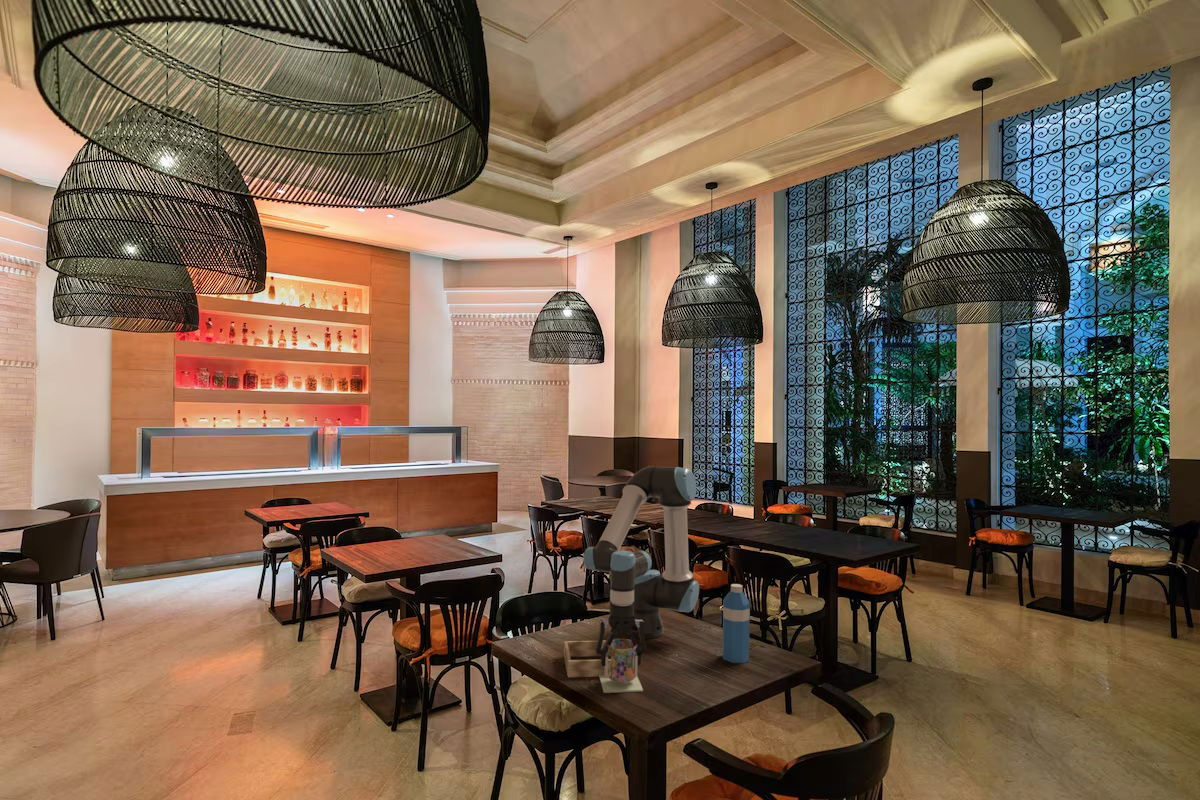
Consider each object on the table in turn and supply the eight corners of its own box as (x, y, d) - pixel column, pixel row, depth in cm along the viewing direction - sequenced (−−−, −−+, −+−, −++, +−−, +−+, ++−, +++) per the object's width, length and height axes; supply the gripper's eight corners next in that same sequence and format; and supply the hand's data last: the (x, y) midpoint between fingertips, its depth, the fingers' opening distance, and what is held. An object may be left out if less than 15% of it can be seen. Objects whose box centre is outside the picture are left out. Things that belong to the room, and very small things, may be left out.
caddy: (627, 654, 225) (627, 639, 225) (636, 675, 207) (636, 659, 207) (564, 655, 222) (564, 641, 222) (567, 677, 204) (567, 661, 204)
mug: (640, 683, 196) (641, 648, 196) (611, 686, 193) (612, 650, 193) (627, 667, 207) (628, 634, 208) (600, 670, 205) (600, 637, 205)
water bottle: (718, 660, 221) (719, 586, 222) (726, 651, 230) (727, 580, 230) (745, 665, 217) (746, 590, 217) (752, 656, 225) (753, 584, 226)
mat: (636, 675, 207) (636, 673, 207) (643, 691, 195) (643, 689, 195) (599, 676, 206) (599, 674, 206) (603, 692, 194) (603, 691, 194)
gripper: (653, 598, 206) (652, 669, 205) (586, 599, 203) (585, 671, 203) (658, 605, 198) (656, 679, 198) (589, 606, 196) (587, 681, 195)
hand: (620, 675), depth 200 cm, fingers closed on mug, 8 cm apart
